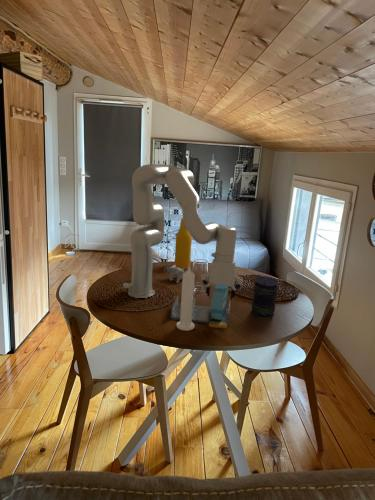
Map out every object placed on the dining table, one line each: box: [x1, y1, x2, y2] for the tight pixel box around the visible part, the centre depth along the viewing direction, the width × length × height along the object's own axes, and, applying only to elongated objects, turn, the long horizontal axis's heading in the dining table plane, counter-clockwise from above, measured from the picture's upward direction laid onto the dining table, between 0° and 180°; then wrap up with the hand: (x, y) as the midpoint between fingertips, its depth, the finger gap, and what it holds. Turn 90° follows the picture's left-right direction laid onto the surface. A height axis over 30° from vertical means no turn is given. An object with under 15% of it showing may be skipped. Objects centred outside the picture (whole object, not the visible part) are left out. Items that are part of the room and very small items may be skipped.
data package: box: [210, 285, 229, 320], centre depth 149 cm, size 12×4×12 cm, turn 164°
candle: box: [176, 265, 196, 332], centre depth 137 cm, size 7×7×25 cm
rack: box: [170, 294, 231, 329], centre depth 150 cm, size 23×16×5 cm
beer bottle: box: [173, 217, 193, 270], centre depth 208 cm, size 9×9×29 cm
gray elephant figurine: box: [163, 264, 185, 284], centre depth 189 cm, size 9×12×8 cm
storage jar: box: [250, 276, 279, 319], centre depth 155 cm, size 10×10×15 cm
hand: (219, 296), depth 148 cm, fingers open, 9 cm apart
